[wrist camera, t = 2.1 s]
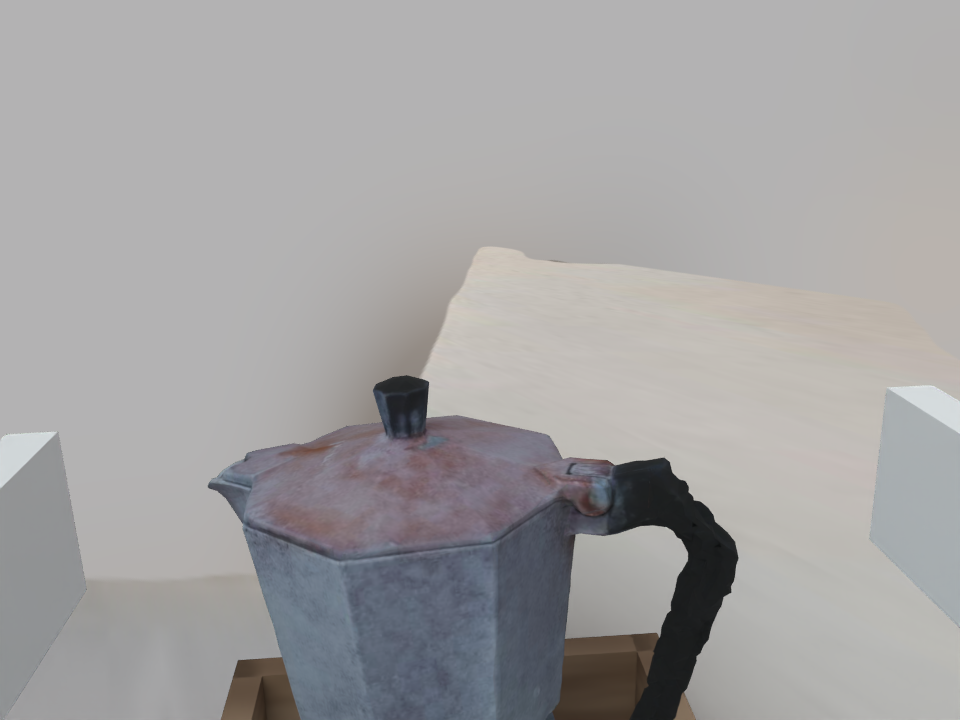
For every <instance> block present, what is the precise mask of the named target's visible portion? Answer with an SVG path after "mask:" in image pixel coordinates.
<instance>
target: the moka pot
mask: <svg viewBox="0 0 960 720" xmlns="http://www.w3.org/2000/svg"><path fill="white" fill-rule="evenodd" d="M428 389H429V382H428V381H426V380H423V379H419V378H415V377H411V376H407V375H406V376H399V377H392V378H390V379H387V380H385V381H383V382H380V383H378V384H376V385H375V387H374V389H373V393H374V396H375V399H376V403H377V406H378V409H379V413H380V416H381V419H382V422H381V423H372V424H363V425H354V426H346V427H344V428H341V429H339V430H337V431H334V432H332V433H329V434H327V435H324V436H322V437H320V438H318V439H316V440H314V441H312V442H309V443H306V444H302V445H300V444H288V445H282V446H277V447H272V448H266V449H261V450H256V451H252V452H249V453H247V454H246V457H245V459H243V460H241V461H238V462H235V463H233V464H232V465H230V466H229V467H227V468H226V469H224V470H223V471H222V472H221V473H220V474H219V475H218V476H217V478H213V479H212V480H211V481H210V482H209V485H208V488H210V489H213V490H216V491H218V492H219V493H220V494H222V495H223V496H224V497H225V498H226V499H227V501H228V502H229V504H230V505H231V507H232V508H233V510H234V511H235V513H236V514H237V516H238V517H239V519H240V520H241V522H242V523H243V531H244V534H245V537H246V541H247V544H248V547H249V550H250V553H251V556H252V559H253V563H254V566H255V569H256V572H257V576H258V579H259V583H260V586H261V589H262V592H263V596H264V599H265V602H266V605H267V608H268V611H269V614H270V617H271V619H272V622H273V626H274V629H275V633H276V637H277V641H278V645H279V648H280V652H281V655H282V658H283V662H284V665H285V668H286V672H287V675H288V679H289V682H290V686H291V689H292V693H293V696H294V699H295V702H296V706H297V709H298V712H299V715H300V719H301V720H555V718H554V715H553V712H552V711H553V710H554V709H555V708H556V706H557V705H558V703H559V701H560V690H561V684H562V665H563V659H564V643H565V631H566V622H567V612H568V599H569V592H570V580H571V569H572V560H573V549H574V542H575V534H579V533H583V534H591V535H601V536H606V535H612V534H618V533H621V532H624V531H627V530H630V529H633V528H636V527H639V526H649V525H655V526H662V527H667V528H669V529H671V530H673V531H674V533H675V535H676V536H677V538H680V539H681V540H682V542H683V543H684V545H685V547H686V549H687V551H688V562H687V563H686V565H685V567H684V568H683V570H682V572H681V573H680V574H679V576H678V578H677V583H676V588H675V592H674V595H673V598H672V601H671V611H670V612H669V613H668V614H667V616H666V618H665V620H664V623H663V625H662V629H661V636H660V638H659V639H658V640H657V643H656V645H655V648H654V650H653V652H654V654H653V657H652V661H651V665H650V669H649V673H648V676H647V684H648V685H649V686H648V687H646V688H644V691H643V693H642V696H641V699H640V700H639V702H638V703H637V705H636V707H635V709H634V711H633V713H632V715H631V717H630V719H629V720H674V719H675V717H676V714H677V710H678V707H679V704H680V701H681V696H682V693H683V692H684V691H685V690H686V689H687V687H688V684H689V681H690V678H691V676H692V673H693V669H694V666H695V664H696V661H697V660H696V656H697V655H698V654H700V653H701V650H702V648H703V645H704V644H705V643H706V642H707V641H708V639H709V635H710V630H711V627H712V624H713V622H714V619H715V617H716V615H717V612H718V611H719V609H720V607H721V605H722V601H723V597H724V596H726V595H728V594H730V593H731V585H732V583H733V582H734V577H735V570H736V564H737V561H738V554H737V549H736V545H735V541H734V540H733V539H732V538H731V536H730V535H729V534H728V532H726V531H725V530H724V529H723V528H722V527H721V526H720V525H718V524H717V523H716V522H715V520H714V516H713V514H712V513H711V511H710V510H709V508H708V507H706V506H705V505H704V504H703V503H702V502H700V501H694V500H693V496H692V495H691V494H690V493H689V492H688V490H689V487H688V485H687V483H686V482H685V481H683V480H679V479H678V478H677V477H676V476H675V475H674V474H673V473H672V470H671V466H670V462H669V461H668V460H666V459H665V458H659V459H653V460H647V461H633V462H629V463H625V464H620V465H616V466H615V465H614V464H612V463H611V462H609V461H608V460H595V459H581V458H566V459H562V457H561V455H560V453H559V451H558V449H557V447H556V446H555V444H554V443H553V441H552V440H551V438H550V437H549V436H548V435H546V434H542V433H538V432H534V431H529V430H525V429H520V428H515V427H510V426H505V425H500V424H496V423H491V422H486V421H482V420H477V419H473V418H468V417H463V416H458V415H456V416H444V417H433V418H426V415H427V403H428Z"/></svg>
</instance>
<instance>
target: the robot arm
mask: <svg viewBox="0 0 960 720" xmlns="http://www.w3.org/2000/svg"><path fill="white" fill-rule="evenodd" d="M869 539H870V540H871V541H872V542H873V543H874V544H875V545H876V546H877V547H878V548H879V549H880V550H881V551H882V552H883V553H884V554H885V555H886V556H887V557H888V558H889V559H890V560H891V561H892V562H893V563H894V564H895V565H896V566H897V567H898V568H899V569H900V570H901V571H902V572H903V573H904V574H905V575H906V576H907V577H908V578H909V579H910V580H911V581H912V582H913V583H914V584H916V585H917V586H918V587H919V588H920V589H921V590H922V591H923V592H924V593H925V594H926V595H927V596H928V597H929V598H930V599H931V600H932V601H933V602H934V603H935V604H936V605H937V606H938V607H939V608H940V609H941V610H942V611H943V612H944V613H945V614H946V615H947V616H948V617H949V618H950V619H951V620H952V621H953V622H954V623H955V624H956V625H957V626H958V627H959V628H960V401H959V400H957V399H955V398H953V397H952V396H950V395H948V394H946V393H945V392H943V391H941V390H939V389H938V388H936V387H934V386H932V385H926V386H907V387H888V388H887V389H886V397H885V406H884V415H883V424H882V432H881V441H880V450H879V459H878V467H877V476H876V485H875V494H874V503H873V511H872V520H871V529H870V538H869ZM86 590H87V589H86V583H85V578H84V572H83V567H82V561H81V556H80V551H79V545H78V539H77V534H76V528H75V522H74V517H73V511H72V506H71V500H70V495H69V489H68V484H67V478H66V473H65V467H64V461H63V456H62V451H61V445H60V440H59V434H58V432H39V433H22V434H21V433H20V434H6V435H5V436H4V437H3V438H2V439H0V720H4V719H5V717H6V716H7V714H8V712H9V711H10V709H11V708H12V706H13V705H14V703H15V701H16V700H17V698H18V697H19V695H20V694H21V692H22V690H23V689H24V687H25V686H26V684H27V683H28V681H29V679H30V678H31V676H32V675H33V673H34V672H35V670H36V668H37V667H38V665H39V664H40V662H41V661H42V659H43V657H44V656H45V654H46V653H47V651H48V650H49V648H50V646H51V645H52V643H53V642H54V640H55V639H56V637H57V635H58V634H59V632H60V631H61V629H62V628H63V626H64V624H65V623H66V621H67V620H68V618H69V617H70V615H71V613H72V612H73V610H74V609H75V607H76V606H77V604H78V602H79V601H80V599H81V598H82V596H83V595H84V593H85V591H86Z"/></svg>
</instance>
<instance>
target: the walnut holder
mask: <svg viewBox="0 0 960 720" xmlns="http://www.w3.org/2000/svg"><path fill="white" fill-rule="evenodd" d="M658 639H659V636H658V634H657V633H648V634H632V635H617V636H602V637H587V638H571V639H565V643H564V659H563V665H562V684H561V690H560V701H559V703H558V705H557V706H556V708H555V709H554V710H553V711H552V712H553V715H554V718H555V720H629V719H630V717H631V715H632V713H633V711H634V709H635V707H636V705H637V703H638V702H639V700H640V699H641V696H642V693H643V691H644V688H646V687H648V686H649V685H648V684H647V676H648V673H649V669H650V665H651V661H652V657H653V654H654V652H653V650H654V648H655V645H656V643H657V640H658ZM221 720H301V719H300V715H299V712H298V709H297V706H296V702H295V699H294V696H293V693H292V689H291V686H290V682H289V679H288V675H287V672H286V668H285V665H284V662H283V658H282V657H280V658H265V659H250V660H238V662H237V666H236V669H235V673H234V676H233V680H232V683H231V686H230V690H229V693H228V697H227V700H226V704H225V707H224V710H223V714H222V717H221ZM674 720H696V719H695V716H694V714H693V712H692V710H691V708H690V705H689V703H688V701H687V699H686V696H685V694H684V692H683V693H682V696H681V701H680V704H679V707H678V710H677V714H676V717H675V719H674Z"/></svg>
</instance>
